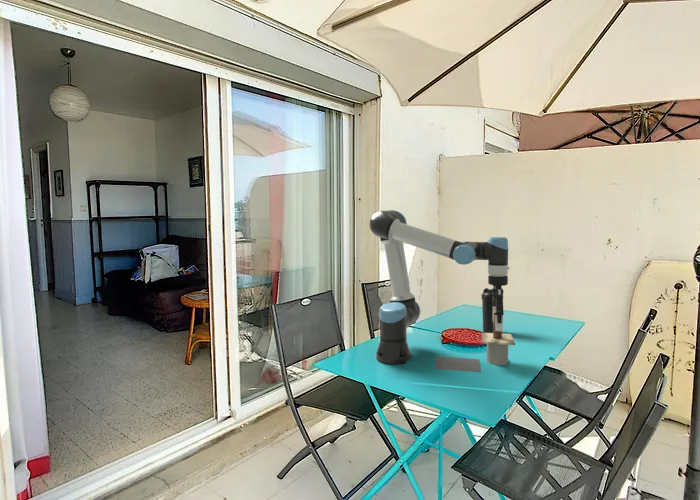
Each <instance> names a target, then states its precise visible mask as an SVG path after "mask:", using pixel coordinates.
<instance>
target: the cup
mask: <svg viewBox="0 0 700 500" xmlns="http://www.w3.org/2000/svg"><path fill="white" fill-rule="evenodd" d="M486 362H487V363H488V364H491V365H495V366H505V365H508V364H509V345H503V344H486Z"/></svg>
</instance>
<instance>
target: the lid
mask: <svg viewBox="0 0 700 500" xmlns="http://www.w3.org/2000/svg"><path fill="white" fill-rule="evenodd" d="M498 312H501V311H498ZM494 313H496V311H493V333H483V332H481V339H482V340H481V341H482V344H485V345H487V344H503V345H508V346H516V342H515V340H514V337H513V335H512V334H511V333H503V331H495V317H496V315H494Z"/></svg>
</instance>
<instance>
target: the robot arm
mask: <svg viewBox="0 0 700 500" xmlns="http://www.w3.org/2000/svg"><path fill="white" fill-rule="evenodd" d="M407 223H408V222H407V219H406V217H405V216H404V214H403V213H401V212H400V211H398V210H391V209H389V210H379V211H376V212H374V214H373V215H371V217H370V220H369V228H370V231H371V233H373V235H375V236H377V237H378V238H379V239H380V243H381V244H384V250H385V257H386V262H387V269H388V270H387V271H388V275H389V276H388V277H389V283H390V289H391V295H392V296H391V297H390V298H389V302H388V303H384V304H382V305H381V306H380V307H379V313H378V318H379V322H378V323H379V343H378V345H377V348H376V355H375V358H376V360H377V362H380V363H382V364H386V365H387V364H388V365H401V364H404V363H405V364H406V362H409V361H410V360H411V359H412V351H411V350H410V347H409V344H408V343H409V342H408V340H407V338H408V337H407V329H408V328H409V327H411V326H412V325H414V324H415V323H417V321H418V320H419V319H420V315H421V307H420V305H419V303H418V302H417V301H416V297H415V295H414V294H413V293H412V292H411V287H410V286H411V285H410V279H409V273H408V267H407V260H406V255H405V254H406V253H405V247H404V243H405V244H408V245H410V246H412V247H416V248H419V249H422V250H425V251H428V252H431V253H433V254H437V255H439V256H442V257H445V258H448V259H451V260H453V261H455V263H457V264H459V265H465V266H467V265H468V264H471V263H472V262H474V261H488V262H487V263H488V264H487V273H488V276H487V277H488V278H487V284H489V286H492V292H493V301H492V303H493V306H494V307H493V311H496V313H494V315H496V317H495V331H502V332H503V330H504V315H505V313H504V289H503V288H502V286H503V287H504V286H507V285H508V284H509V283H508V282H509V276H508V274H509V270H510V267H509V240H508V238H507V237H504V236H491V237H488V241H467V240H466V241H458V240H455V239H452V238H451V237H450V238H449V237H448V236H447V237H446V236H445V235H444V236H443V235H440V234H437V233H434V232H431V231H428V230H424V229H422V228H419V227H416V226H413V225H409V224H407ZM498 311H501V312H498Z"/></svg>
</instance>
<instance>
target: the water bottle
mask: <svg viewBox="0 0 700 500" xmlns="http://www.w3.org/2000/svg"><path fill="white" fill-rule="evenodd" d="M492 301H493V292H492V289H491V288H488V287H486V288H484V289H483V292H482V294H481V303H482V304H481V309H482V311H481V312H482V333H483V332H484V333H493V307H494V306H493V303H492Z"/></svg>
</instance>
